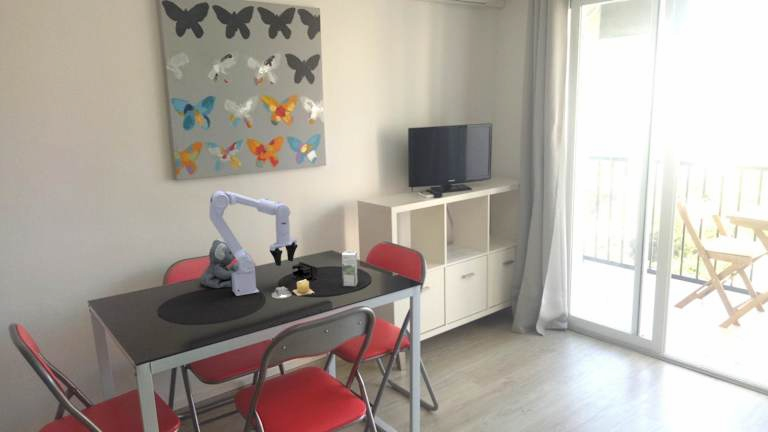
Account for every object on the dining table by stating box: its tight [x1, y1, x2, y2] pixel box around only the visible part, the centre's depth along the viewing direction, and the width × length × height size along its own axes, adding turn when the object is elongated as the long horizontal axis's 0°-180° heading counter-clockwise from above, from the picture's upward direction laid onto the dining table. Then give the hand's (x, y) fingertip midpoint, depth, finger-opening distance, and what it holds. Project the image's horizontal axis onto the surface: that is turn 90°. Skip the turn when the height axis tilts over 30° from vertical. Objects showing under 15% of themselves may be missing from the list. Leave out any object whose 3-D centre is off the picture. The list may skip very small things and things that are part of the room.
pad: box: [292, 288, 315, 297], centre depth 226 cm, size 7×7×1 cm
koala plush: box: [200, 238, 239, 289], centre depth 237 cm, size 17×18×20 cm
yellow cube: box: [296, 279, 310, 293], centre depth 225 cm, size 5×5×5 cm
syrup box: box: [341, 250, 358, 288], centre depth 233 cm, size 6×6×14 cm
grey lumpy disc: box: [271, 286, 293, 300], centre depth 222 cm, size 8×8×3 cm
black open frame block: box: [291, 261, 319, 282], centre depth 243 cm, size 10×7×7 cm
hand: (284, 263), depth 231 cm, fingers open, 7 cm apart
